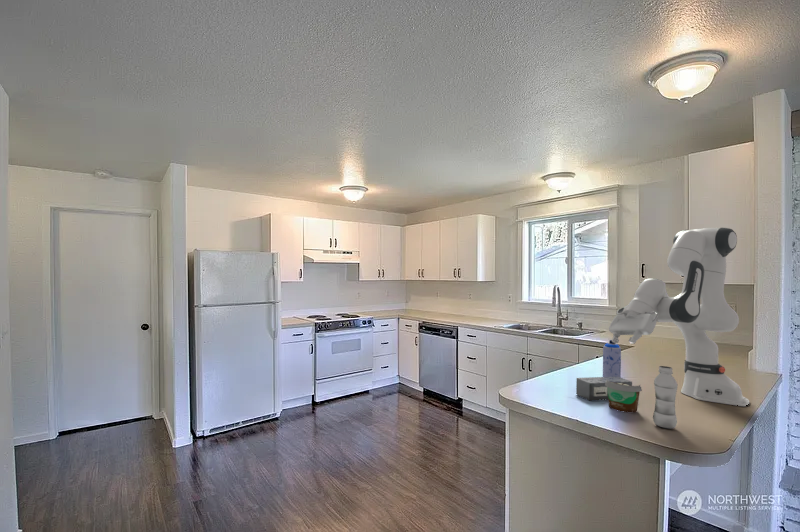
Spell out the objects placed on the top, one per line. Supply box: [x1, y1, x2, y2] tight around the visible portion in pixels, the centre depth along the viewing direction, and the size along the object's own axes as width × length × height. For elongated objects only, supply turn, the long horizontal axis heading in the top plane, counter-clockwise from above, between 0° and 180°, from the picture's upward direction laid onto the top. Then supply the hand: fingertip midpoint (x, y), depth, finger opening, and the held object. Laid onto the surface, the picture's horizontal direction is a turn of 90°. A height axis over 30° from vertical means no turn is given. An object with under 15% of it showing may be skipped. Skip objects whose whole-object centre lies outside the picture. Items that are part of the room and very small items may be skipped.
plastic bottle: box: [652, 365, 678, 430], centre depth 131 cm, size 6×7×20 cm
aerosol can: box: [602, 339, 622, 378], centre depth 184 cm, size 8×8×20 cm
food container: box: [605, 379, 643, 413], centre depth 147 cm, size 12×6×10 cm, turn 47°
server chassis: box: [575, 376, 633, 402], centre depth 162 cm, size 20×8×7 cm, turn 102°
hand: (622, 342), depth 150 cm, fingers open, 8 cm apart
